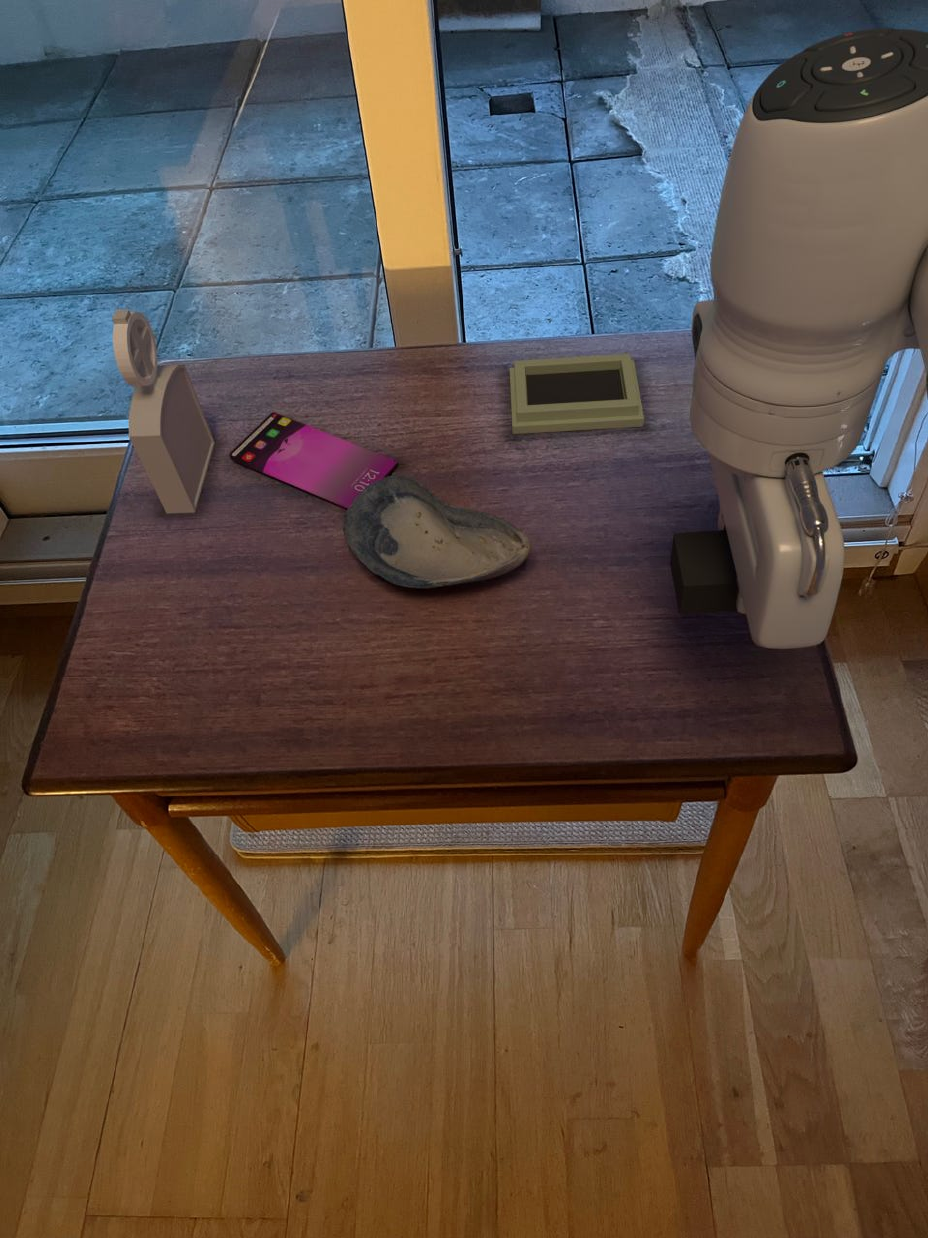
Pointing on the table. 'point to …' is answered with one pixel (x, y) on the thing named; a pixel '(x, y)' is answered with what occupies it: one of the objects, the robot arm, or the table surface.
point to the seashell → (428, 537)
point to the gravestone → (163, 416)
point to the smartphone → (311, 459)
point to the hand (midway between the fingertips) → (740, 568)
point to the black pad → (703, 572)
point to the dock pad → (575, 394)
